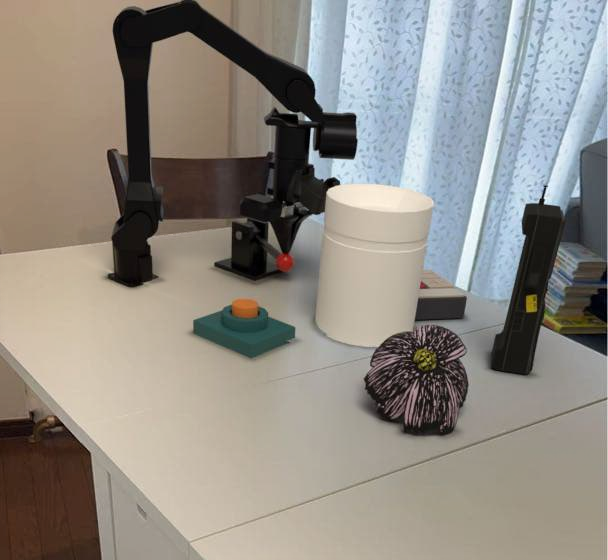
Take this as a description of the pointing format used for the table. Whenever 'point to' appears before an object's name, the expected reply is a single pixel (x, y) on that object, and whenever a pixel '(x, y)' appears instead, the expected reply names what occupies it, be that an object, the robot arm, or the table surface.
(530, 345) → the portable radio
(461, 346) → the decorative flower
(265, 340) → the button block
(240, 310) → the button
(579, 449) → the table surface
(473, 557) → the table surface
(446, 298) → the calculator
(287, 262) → the switch lever
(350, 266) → the canister
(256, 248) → the switch bracket
